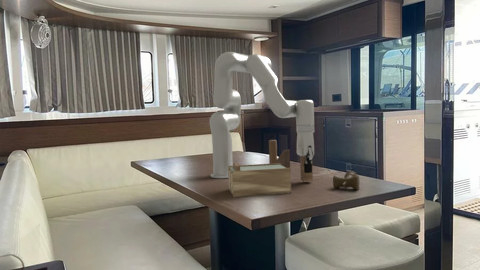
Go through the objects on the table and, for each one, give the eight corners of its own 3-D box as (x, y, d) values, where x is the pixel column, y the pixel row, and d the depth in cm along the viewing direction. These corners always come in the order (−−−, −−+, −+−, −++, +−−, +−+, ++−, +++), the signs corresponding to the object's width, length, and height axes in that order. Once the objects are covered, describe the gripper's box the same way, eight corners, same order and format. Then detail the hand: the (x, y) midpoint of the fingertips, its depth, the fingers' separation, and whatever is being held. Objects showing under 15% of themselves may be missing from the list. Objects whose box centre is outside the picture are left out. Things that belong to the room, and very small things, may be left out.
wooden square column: (299, 179, 160) (298, 152, 159) (310, 178, 161) (309, 151, 160) (303, 181, 155) (302, 153, 154) (313, 180, 156) (313, 152, 155)
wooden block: (285, 182, 159) (284, 141, 158) (267, 179, 167) (266, 140, 166) (291, 181, 162) (289, 140, 160) (273, 178, 170) (272, 139, 169)
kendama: (363, 184, 154) (356, 193, 136) (340, 183, 158) (330, 192, 140) (363, 169, 154) (356, 177, 136) (339, 169, 158) (329, 176, 140)
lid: (230, 169, 148) (230, 162, 148) (280, 166, 151) (279, 159, 151) (234, 174, 137) (233, 166, 137) (287, 170, 140) (287, 163, 140)
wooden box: (228, 189, 150) (228, 166, 149) (281, 185, 153) (280, 162, 153) (233, 197, 136) (232, 171, 136) (291, 193, 140) (290, 168, 139)
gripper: (291, 128, 164) (292, 169, 165) (303, 130, 148) (304, 175, 149) (307, 127, 165) (308, 168, 167) (321, 129, 149) (321, 174, 150)
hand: (306, 171), depth 158 cm, fingers closed on wooden square column, 4 cm apart
